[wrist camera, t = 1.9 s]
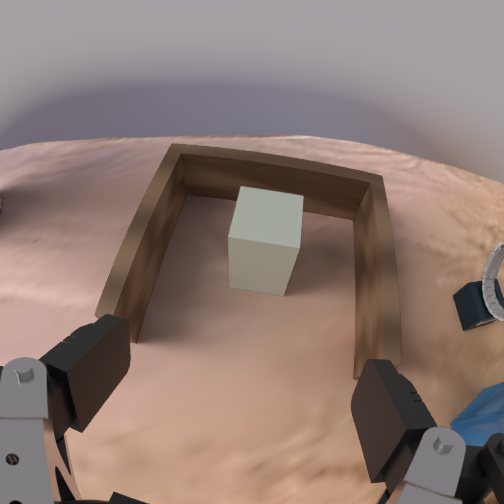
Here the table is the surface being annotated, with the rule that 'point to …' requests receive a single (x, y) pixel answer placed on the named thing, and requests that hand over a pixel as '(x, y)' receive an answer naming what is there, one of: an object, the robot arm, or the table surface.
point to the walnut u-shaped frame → (274, 179)
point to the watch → (482, 295)
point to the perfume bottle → (482, 417)
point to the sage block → (264, 240)
